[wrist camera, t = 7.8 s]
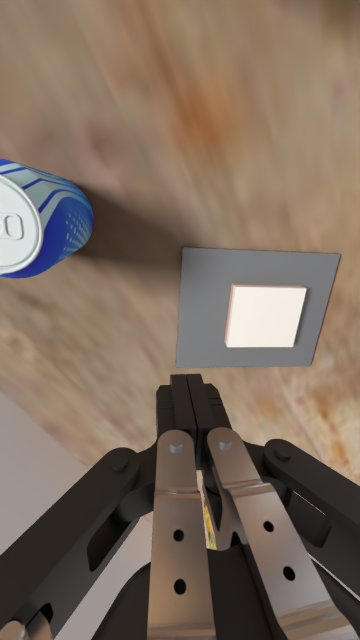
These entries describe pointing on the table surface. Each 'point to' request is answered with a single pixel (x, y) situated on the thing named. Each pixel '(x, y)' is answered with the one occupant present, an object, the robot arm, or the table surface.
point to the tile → (263, 315)
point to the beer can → (39, 220)
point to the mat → (214, 295)
